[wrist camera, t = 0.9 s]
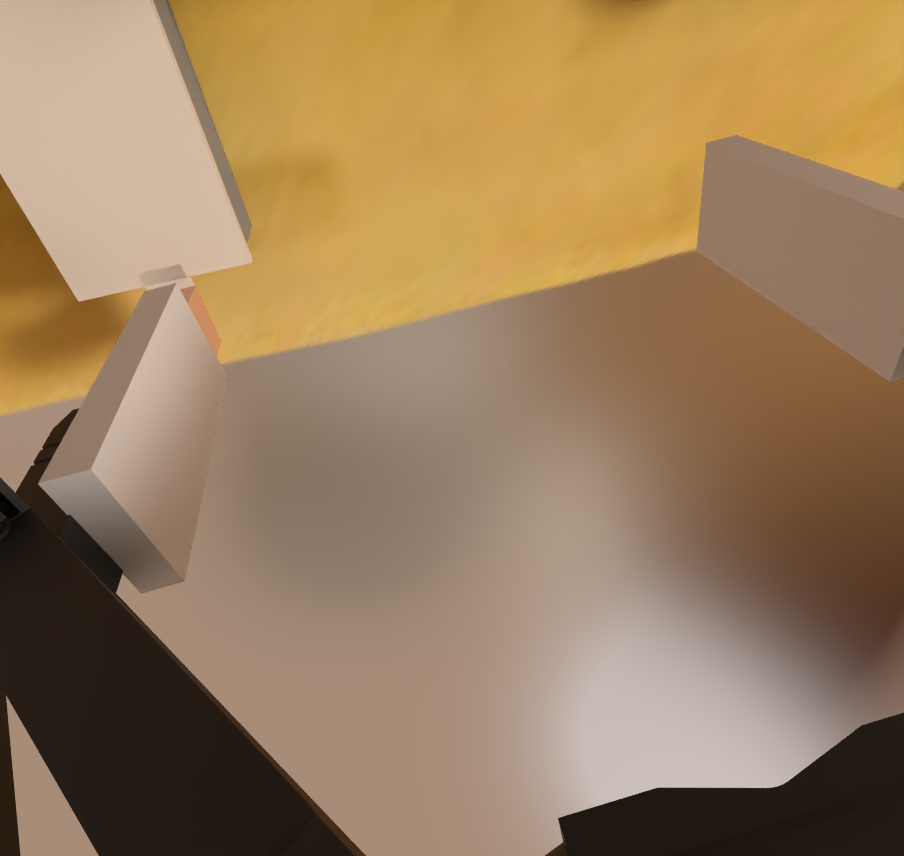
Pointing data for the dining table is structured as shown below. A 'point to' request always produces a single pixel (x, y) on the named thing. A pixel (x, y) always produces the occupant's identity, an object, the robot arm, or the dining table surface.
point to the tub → (203, 113)
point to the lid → (111, 151)
